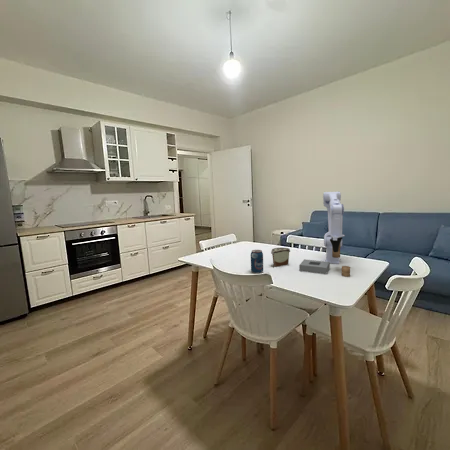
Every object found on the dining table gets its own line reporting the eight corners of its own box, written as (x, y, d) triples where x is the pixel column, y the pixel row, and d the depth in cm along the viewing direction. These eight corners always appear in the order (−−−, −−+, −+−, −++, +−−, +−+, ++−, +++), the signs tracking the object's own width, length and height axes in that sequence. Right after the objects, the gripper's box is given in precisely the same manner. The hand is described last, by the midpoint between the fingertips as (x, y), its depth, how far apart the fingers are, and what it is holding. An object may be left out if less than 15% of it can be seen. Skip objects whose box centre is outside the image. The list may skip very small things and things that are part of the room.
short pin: (341, 273, 129) (341, 265, 129) (350, 274, 127) (350, 266, 127) (341, 276, 126) (341, 267, 125) (349, 277, 124) (350, 268, 123)
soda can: (256, 274, 134) (256, 253, 132) (248, 271, 139) (247, 250, 137) (266, 271, 138) (265, 250, 136) (257, 268, 143) (256, 248, 142)
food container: (284, 262, 154) (284, 246, 153) (290, 264, 149) (290, 248, 147) (267, 264, 150) (267, 248, 149) (272, 267, 144) (272, 251, 143)
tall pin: (332, 255, 138) (332, 241, 137) (340, 256, 136) (340, 242, 135) (331, 257, 134) (332, 243, 133) (339, 258, 132) (340, 243, 132)
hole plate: (304, 265, 147) (304, 259, 146) (329, 267, 139) (329, 261, 139) (299, 270, 136) (299, 264, 136) (326, 274, 129) (326, 267, 129)
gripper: (343, 228, 125) (343, 254, 127) (345, 225, 137) (345, 248, 139) (328, 228, 128) (328, 253, 130) (331, 224, 141) (331, 247, 143)
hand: (336, 251), depth 135 cm, fingers closed on tall pin, 4 cm apart
